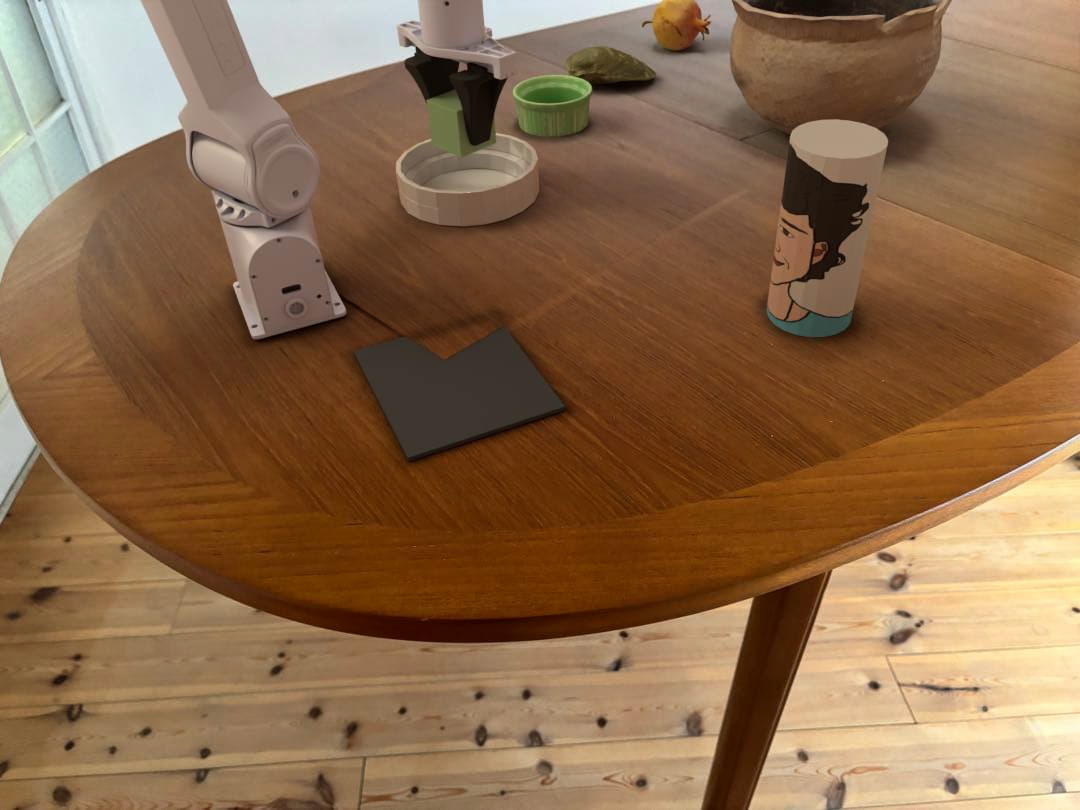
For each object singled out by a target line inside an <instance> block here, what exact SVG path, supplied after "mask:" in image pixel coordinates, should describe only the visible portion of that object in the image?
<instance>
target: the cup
mask: <svg viewBox="0 0 1080 810" xmlns="http://www.w3.org/2000/svg"><path fill="white" fill-rule="evenodd" d="M888 144H889V138H888V137H887V136H886V134H885V133H884V132H883V131H881V130H880V129H877V128H874V127H872V126H869V125H866V124H863V123H859V122H854V121H848V120H837V119H835V120H818V121H812V122H808V123H805V124H802V125H799V126H798V127H796V128H795V129H794V130H793V131H792V133H791V135H790V136H789V143H788V151H787V158H786V165H785V172H784V180H783V188H782V193H781V202H780V209H779V215H778V224H777V230H776V239H775V245H774V252H773V253H774V254H773V259H772V268H771V275H770V280H769V281H770V282H769V289H768V296H767V304H766V314H767V318H768V319H769V320H770V322H772V324H773V325H774V326H776V327H777V328H779V329H781V330H782V331H783V332H786V333H790V334H792V335H794V336H800V337H807V338H826V337H830V336H834V335H837V334H840V333H841V332H843V331H845V330H847V328H848V327H849V326H850V324H851V322H852V317H853V312H854V308H855V302H856V297H857V292H858V289H859V284H860V278H861V274H862V269H863V264H864V260H865V254H866V250H867V244H868V240H869V236H870V235H869V234H870V230H871V226H872V221H873V216H874V211H875V207H876V202H877V199H878V198H877V197H878V194H879V193H878V192H879V187H880V183H881V178H882V173H883V170H884V164H885V159H886V154H887V150H888V149H887V148H888Z"/></svg>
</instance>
